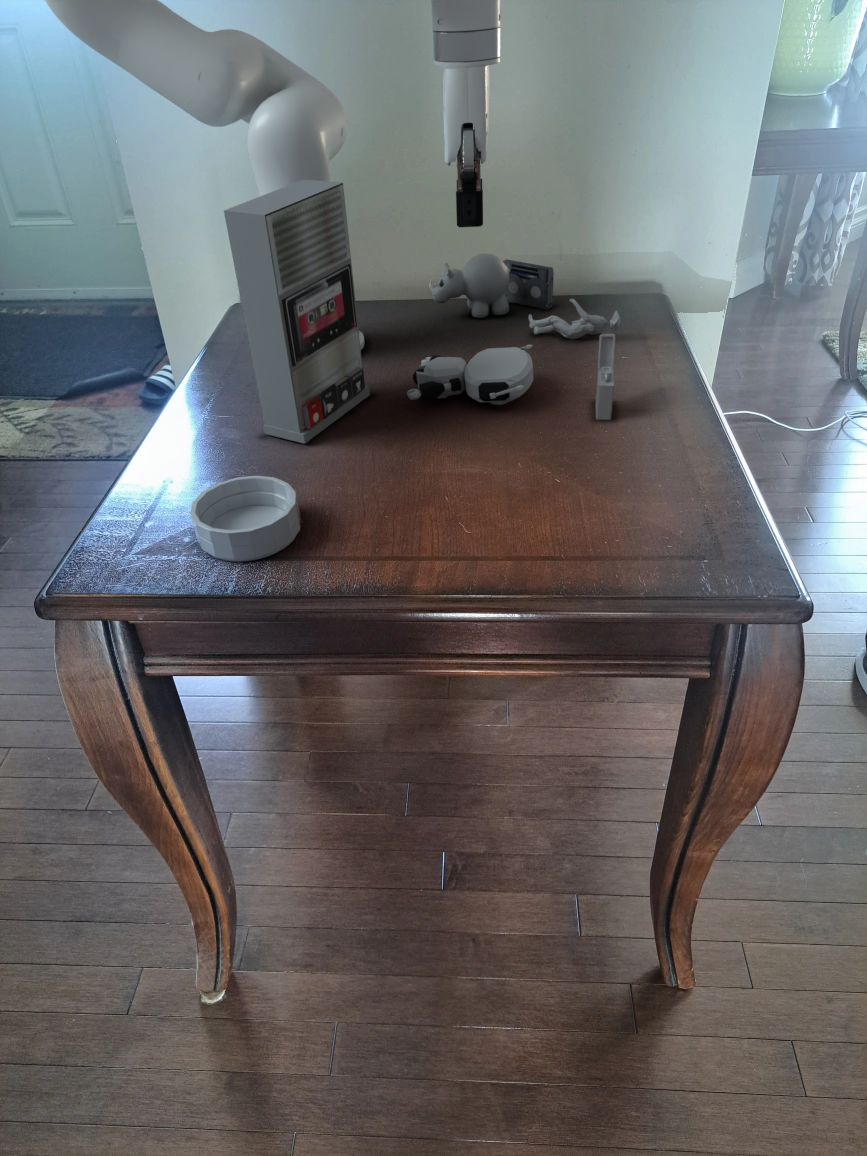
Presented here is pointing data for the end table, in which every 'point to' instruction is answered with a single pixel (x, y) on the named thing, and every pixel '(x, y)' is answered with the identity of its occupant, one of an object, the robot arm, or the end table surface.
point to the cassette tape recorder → (299, 305)
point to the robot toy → (476, 376)
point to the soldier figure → (575, 324)
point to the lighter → (605, 377)
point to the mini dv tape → (530, 284)
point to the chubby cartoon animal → (476, 285)
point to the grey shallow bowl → (246, 518)
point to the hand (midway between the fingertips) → (469, 218)
